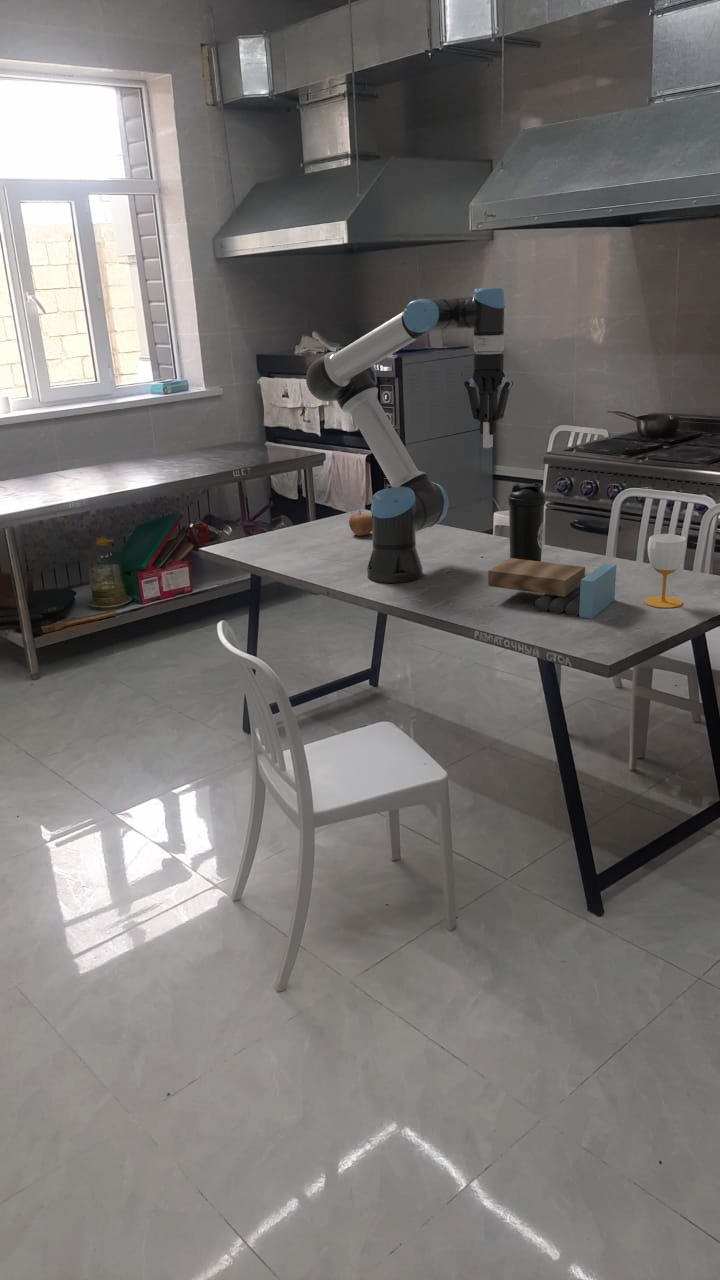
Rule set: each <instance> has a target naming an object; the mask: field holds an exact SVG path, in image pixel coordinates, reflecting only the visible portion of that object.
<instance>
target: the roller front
mask: <svg viewBox="0 0 720 1280" xmlns="http://www.w3.org/2000/svg"><path fill="white" fill-rule="evenodd" d="M579 608H580V595H579V596H577V597H576V598H575V599H573V600H572V601H570V602H569V603H568V604H567V605H566V606H565V610H564V611H565V613H566V615H568V616H571V617H576V616H579Z"/></svg>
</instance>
